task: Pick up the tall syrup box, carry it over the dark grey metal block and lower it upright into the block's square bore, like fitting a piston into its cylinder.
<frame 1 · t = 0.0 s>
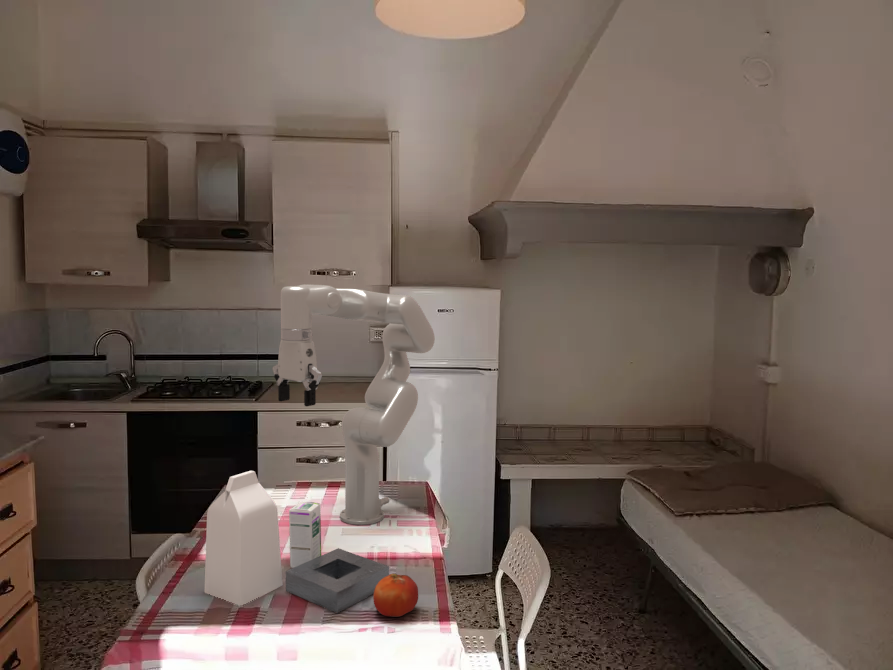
hand: (296, 403, 174), 37 cm above the table, tool pointing down, fingers open, 9 cm apart
tomato: (395, 613, 143), on the table
bore block: (337, 588, 153), on the table
milk: (244, 589, 152), on the table
syrup box: (305, 565, 165), on the table
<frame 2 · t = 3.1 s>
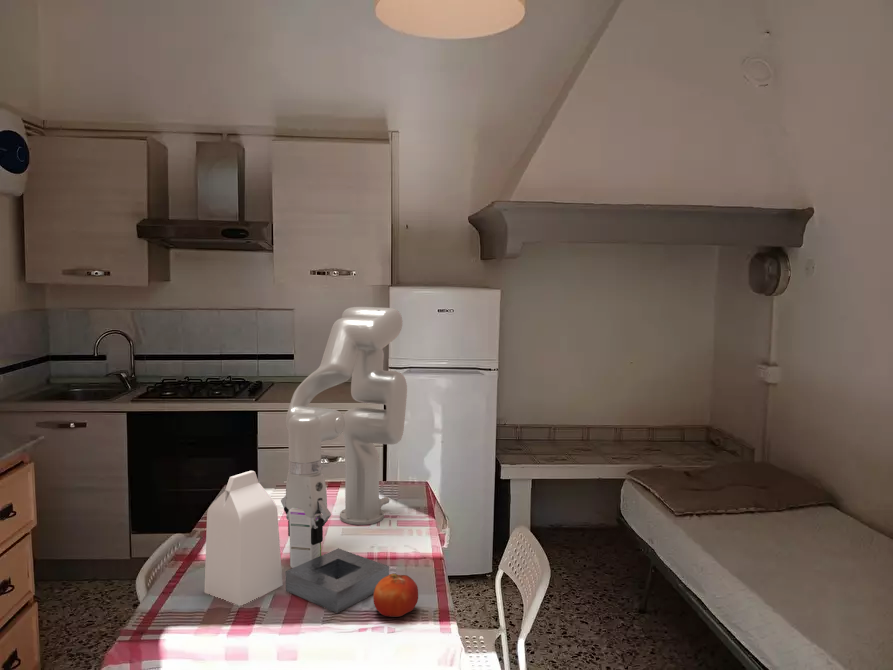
hand: (305, 538, 165), 6 cm above the table, tool pointing down, fingers closed on syrup box, 7 cm apart
syrup box: (305, 564, 165), on the table, touching gripper
everything else where it was.
when the fingers open (8 cm above the table, at t = 9.5 s): syrup box drops 1 cm, resting in bore block.
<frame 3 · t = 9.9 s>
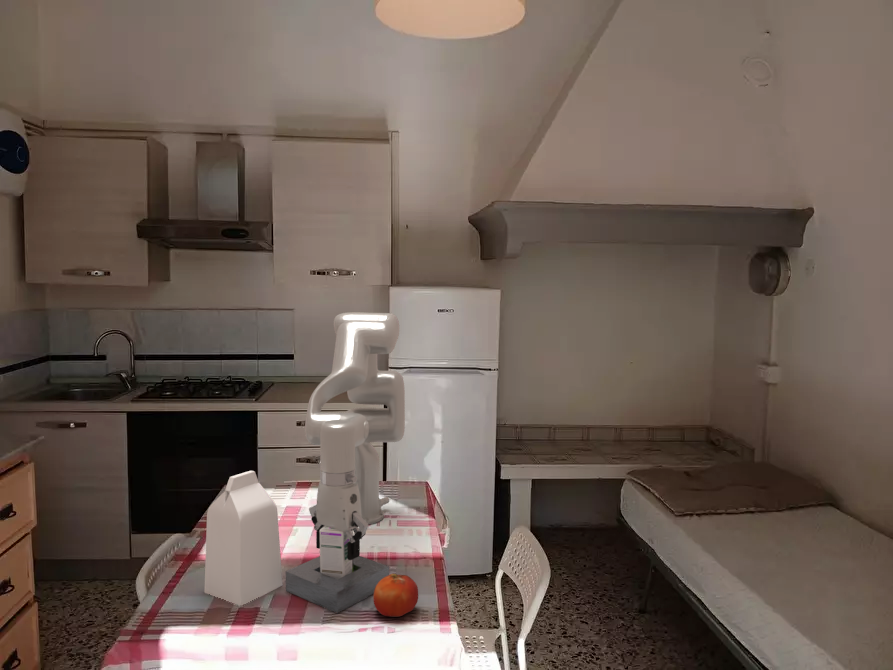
hand: (337, 552, 152), 8 cm above the table, tool pointing down, fingers open, 9 cm apart
syrup box: (336, 588, 153), resting in bore block
everything else where it was.
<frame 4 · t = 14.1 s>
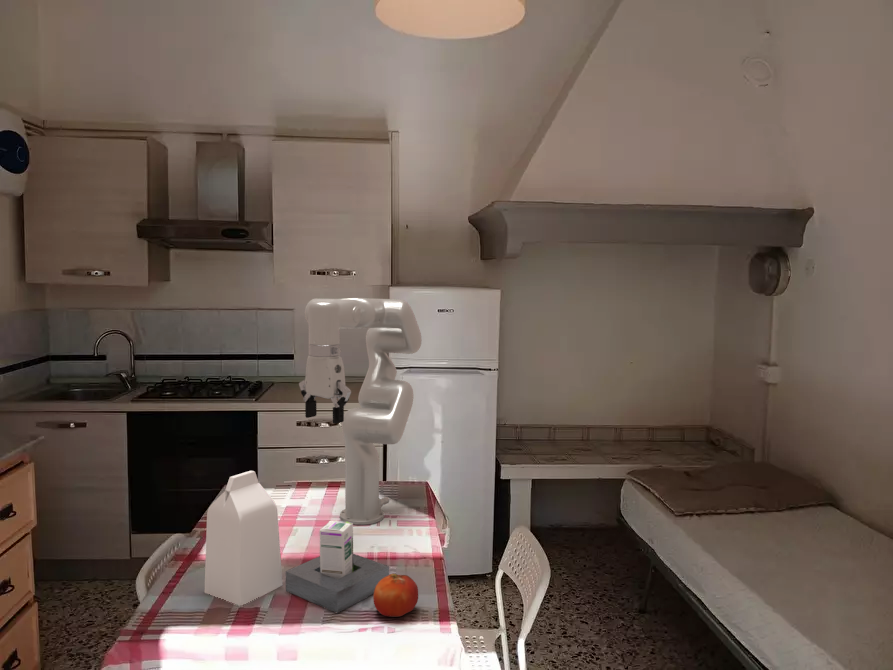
hand: (324, 419, 171), 33 cm above the table, tool pointing down, fingers open, 9 cm apart
nothing on the table moved.
at the end: syrup box 0.2 cm off-centre on the bore block, point 0.0 cm above the bore block's base; syrup box tilted 0°; the gripper is holding nothing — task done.
